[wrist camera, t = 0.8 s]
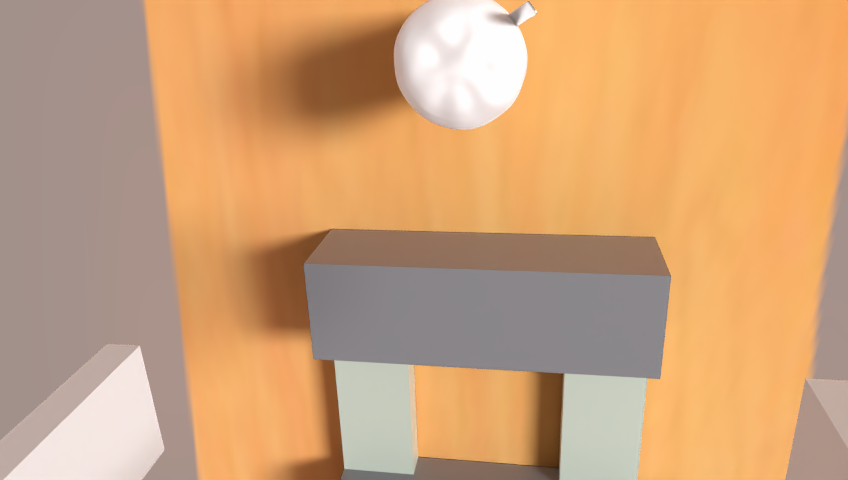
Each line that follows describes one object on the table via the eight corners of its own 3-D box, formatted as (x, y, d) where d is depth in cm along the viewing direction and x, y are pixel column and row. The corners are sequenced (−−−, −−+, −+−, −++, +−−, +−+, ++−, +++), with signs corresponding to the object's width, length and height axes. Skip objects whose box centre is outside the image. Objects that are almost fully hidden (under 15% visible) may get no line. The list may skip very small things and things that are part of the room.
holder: (331, 229, 35) (303, 263, 31) (655, 237, 33) (670, 275, 29) (357, 518, 42) (337, 577, 38) (626, 543, 40) (635, 610, 36)
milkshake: (566, 37, 30) (576, 69, 21) (469, 110, 32) (439, 168, 23) (505, -51, 29) (488, -58, 20) (409, 29, 31) (353, 57, 22)
